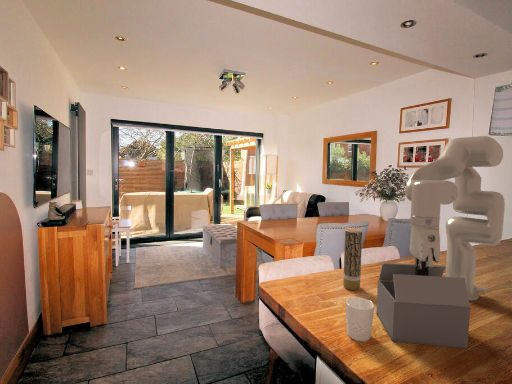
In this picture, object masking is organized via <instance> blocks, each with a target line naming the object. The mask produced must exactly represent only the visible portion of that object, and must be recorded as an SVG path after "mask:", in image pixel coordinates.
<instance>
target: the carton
mask: <svg viewBox="0 0 512 384" xmlns="http://www.w3.org/2000/svg"><path fill="white" fill-rule="evenodd" d="M376 291H377V292H376V317H377V318H378V320H379V321H380V322H381V324H382V325H381V326H383V328H384V329H385V332H386V333H387V335H388V336H389V339H390V340H391V342H394V343H402V344H403V343H404V344H414V345H426V346H438V347H447V348H450V347H451V348H459V349H460V348H462V349H468V348H469V347H468V344H469V329H470V319H471V318H470V315H471V306H470V307H466V306H452V305H437V304H423V303H408V302H396V299H395V289H394V281H382V280H379V279H378V280H377V290H376Z"/></svg>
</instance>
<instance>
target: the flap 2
mask: <svg viewBox="0 0 512 384" xmlns="http://www.w3.org/2000/svg"><path fill="white" fill-rule="evenodd" d="M393 279H394V289H395V299H396V302H408V303H423V304H437V305H452V306H466V307H470V308H471V305H470V304H471V303H470V301H469V299H468V293H467V288H466V283H465V278H455V277H445V276H442V277H437V276H420V275H402V274H393Z"/></svg>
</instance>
